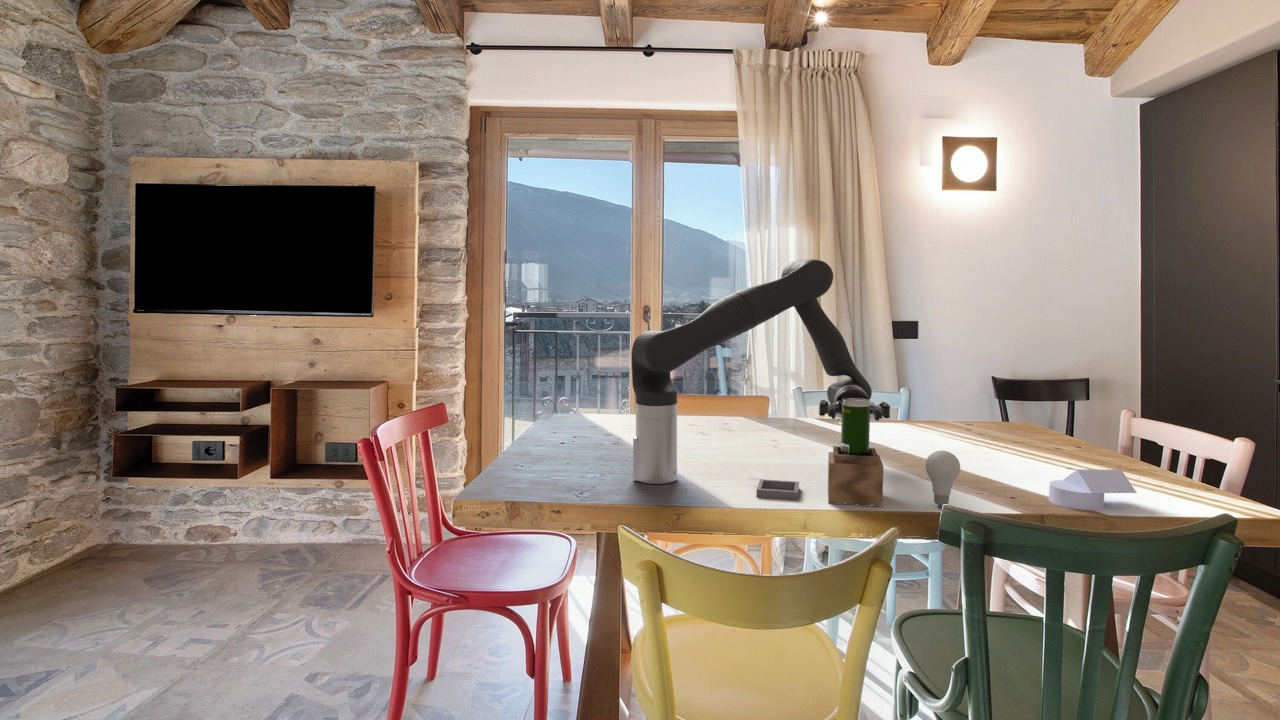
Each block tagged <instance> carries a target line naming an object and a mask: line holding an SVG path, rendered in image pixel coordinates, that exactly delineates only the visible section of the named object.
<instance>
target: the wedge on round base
mask: <svg viewBox="0 0 1280 720" xmlns="http://www.w3.org/2000/svg"><path fill="white" fill-rule="evenodd" d="M1048 487H1049V489H1048V501H1049V502H1050V503H1052V504H1054V505H1057V506H1059V507H1064V508H1068V509H1074V510H1081V511H1082V510H1083V511H1097V510H1102V509H1103V508H1104V505H1105V504H1104V503H1105V494H1137V493H1138V492H1137V490H1136V489H1135V488H1134V486H1133V485H1132V483H1131V482H1130V480H1129V479H1128V478H1127V476H1126V474H1125V473H1124V472H1123V470H1122V469H1076V470H1075V471H1073V472H1072V473H1071V474H1069V475H1068V476H1066V477H1065V478H1063V479H1060V480H1052V481H1050V482H1049V486H1048Z"/></svg>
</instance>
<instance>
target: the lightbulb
mask: <svg viewBox="0 0 1280 720" xmlns="http://www.w3.org/2000/svg"><path fill="white" fill-rule="evenodd" d="M925 470H926V473H927V476H928V477H929V479H930V481H931V485H932V492H933V503H934V504H935V505H937V506H938V507H939V506H940V508H942V507H941V506H942V505H943V504H948V505H949V502H950V495H951V494H952V493H951V492H952V488H953V484H954V482H955V481H956V479H957V478H958V477H959V474H960V472H961V463H960V460H959V458H958V457H957V456H956V455H955V454H953V453H952V452H950V451H948V450H947V451H946V450H937V451H934V452H931V454H930V455H929V456H928V457H927V459H926V460H925Z"/></svg>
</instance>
